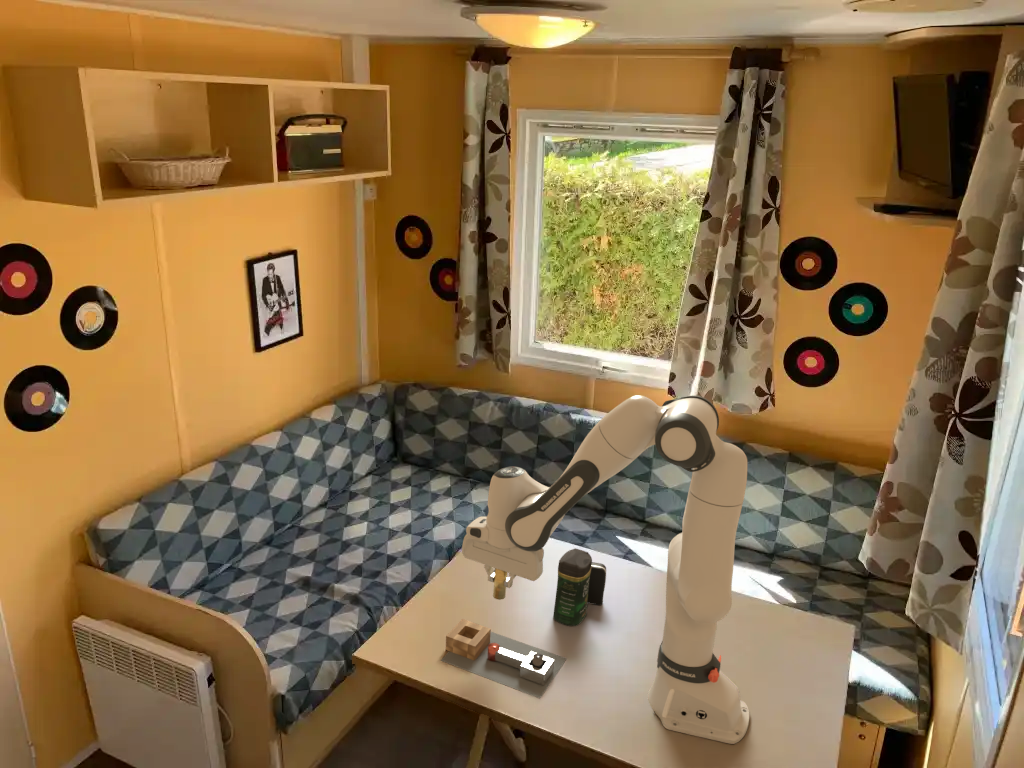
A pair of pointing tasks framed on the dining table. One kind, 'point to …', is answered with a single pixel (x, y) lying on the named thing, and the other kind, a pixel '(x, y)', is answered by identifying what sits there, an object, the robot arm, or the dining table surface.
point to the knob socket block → (522, 663)
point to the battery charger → (597, 583)
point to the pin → (499, 584)
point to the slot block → (468, 639)
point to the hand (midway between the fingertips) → (500, 583)
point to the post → (537, 660)
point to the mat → (503, 671)
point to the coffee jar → (572, 587)
